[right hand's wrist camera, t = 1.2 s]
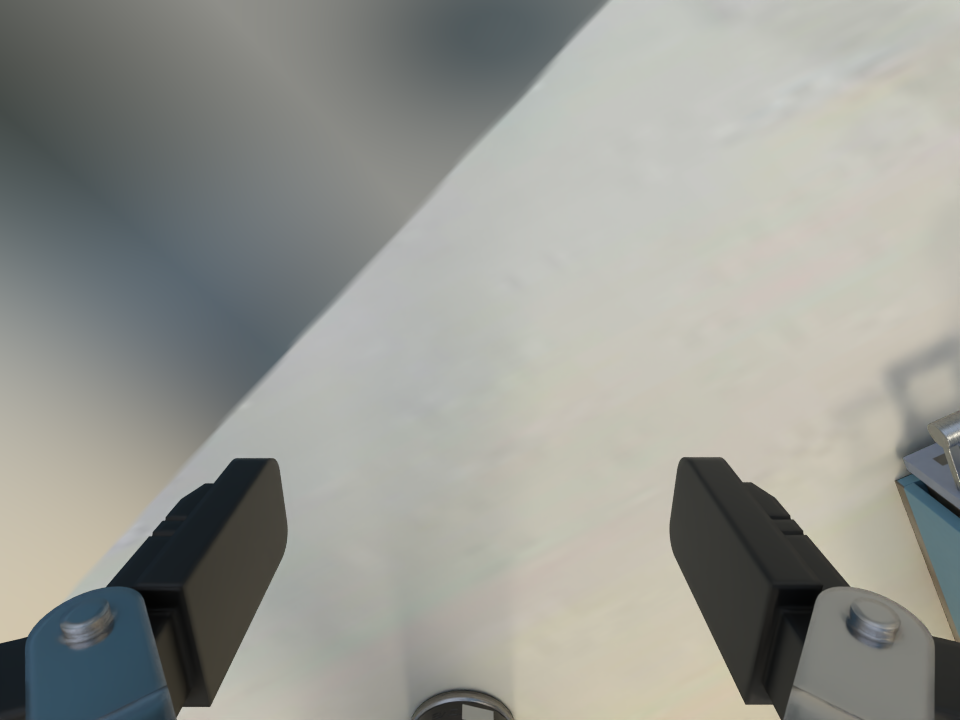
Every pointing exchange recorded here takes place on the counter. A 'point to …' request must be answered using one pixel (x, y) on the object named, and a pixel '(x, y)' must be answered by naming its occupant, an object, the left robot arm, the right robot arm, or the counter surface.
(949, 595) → the cabinet
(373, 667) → the counter surface
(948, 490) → the drawer
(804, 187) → the counter surface
